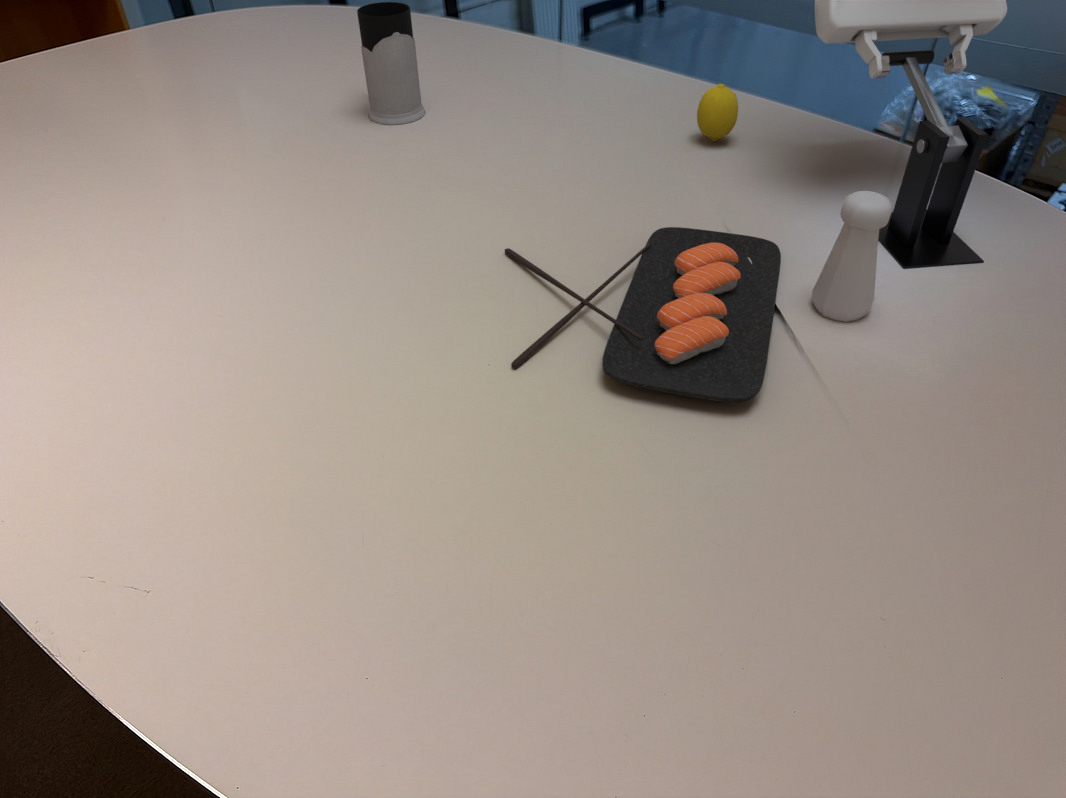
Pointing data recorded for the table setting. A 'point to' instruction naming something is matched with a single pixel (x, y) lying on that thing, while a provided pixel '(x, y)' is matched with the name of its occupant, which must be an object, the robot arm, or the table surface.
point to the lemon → (717, 112)
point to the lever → (928, 98)
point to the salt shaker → (853, 259)
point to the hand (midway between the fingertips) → (918, 73)
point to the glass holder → (390, 63)
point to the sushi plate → (688, 315)
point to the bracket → (933, 201)
